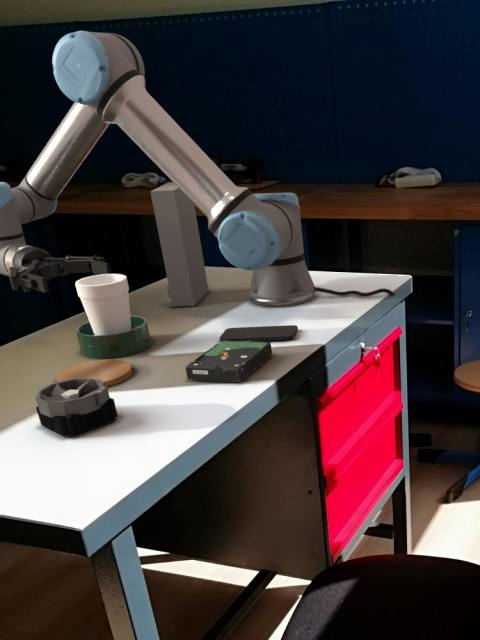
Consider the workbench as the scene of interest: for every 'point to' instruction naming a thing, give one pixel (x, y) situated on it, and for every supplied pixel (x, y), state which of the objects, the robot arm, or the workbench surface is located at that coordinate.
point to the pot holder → (98, 371)
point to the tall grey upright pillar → (180, 245)
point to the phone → (259, 333)
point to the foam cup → (106, 302)
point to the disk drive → (229, 361)
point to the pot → (114, 340)
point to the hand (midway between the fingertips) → (78, 278)
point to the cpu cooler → (75, 406)
